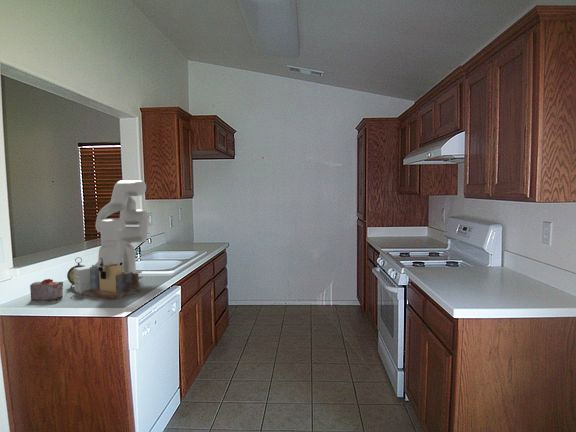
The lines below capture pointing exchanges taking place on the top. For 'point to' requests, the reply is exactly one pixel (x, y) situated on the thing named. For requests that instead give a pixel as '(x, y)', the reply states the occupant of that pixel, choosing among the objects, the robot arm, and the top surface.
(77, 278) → the supplement box
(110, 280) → the book
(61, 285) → the food item
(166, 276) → the top surface
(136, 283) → the shelf
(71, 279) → the alarm clock
